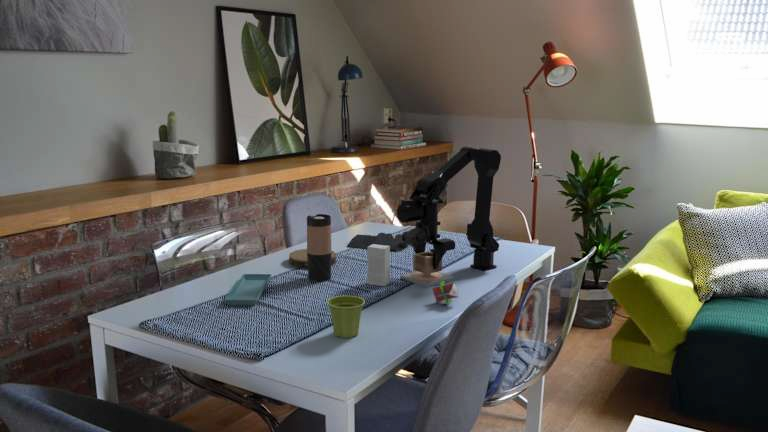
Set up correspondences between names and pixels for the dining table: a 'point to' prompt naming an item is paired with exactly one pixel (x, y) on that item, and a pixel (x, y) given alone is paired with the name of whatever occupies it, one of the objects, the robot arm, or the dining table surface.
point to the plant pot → (346, 315)
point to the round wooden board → (304, 258)
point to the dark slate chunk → (378, 241)
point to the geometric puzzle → (445, 292)
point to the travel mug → (319, 247)
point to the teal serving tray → (248, 289)
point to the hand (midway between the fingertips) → (427, 266)
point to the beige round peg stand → (427, 278)
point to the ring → (425, 263)
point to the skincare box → (378, 264)
